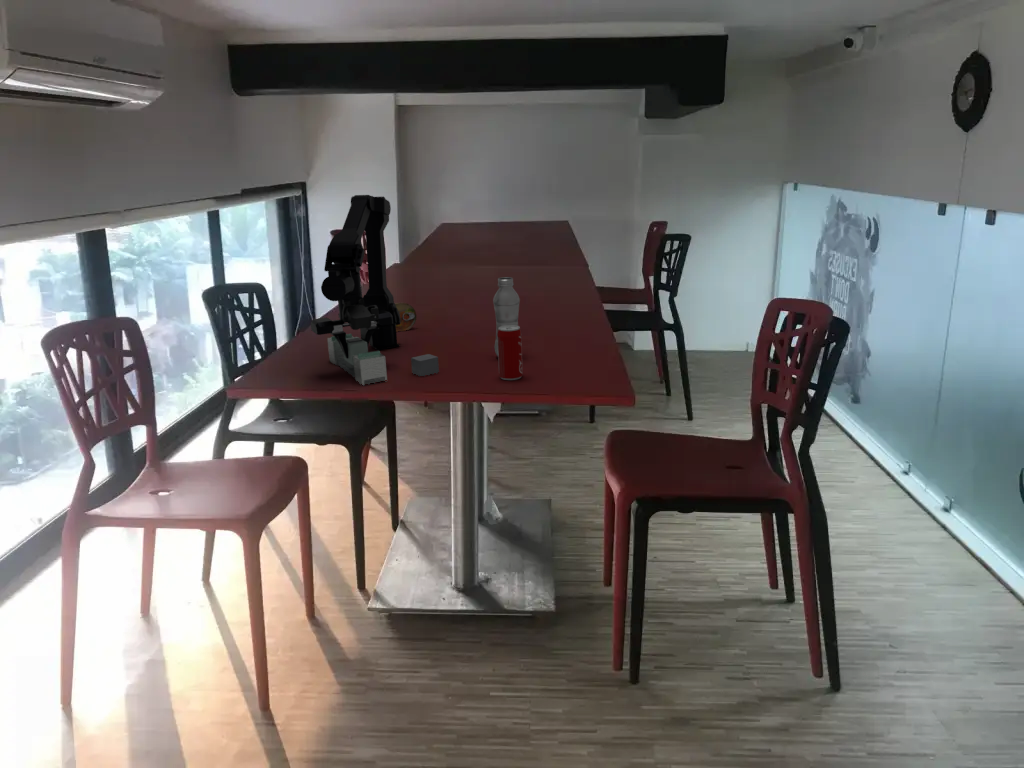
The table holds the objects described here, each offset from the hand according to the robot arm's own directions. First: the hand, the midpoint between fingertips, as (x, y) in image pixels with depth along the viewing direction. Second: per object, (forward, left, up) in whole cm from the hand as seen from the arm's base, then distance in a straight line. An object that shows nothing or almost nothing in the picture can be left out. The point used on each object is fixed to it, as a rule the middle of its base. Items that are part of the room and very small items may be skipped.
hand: (355, 356), depth 189 cm
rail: (0, 0, -4) cm, 4 cm away
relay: (-13, +12, -4) cm, 18 cm away
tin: (-22, -35, -4) cm, 41 cm away
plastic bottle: (-36, +11, -4) cm, 38 cm away
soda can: (-28, +27, -4) cm, 39 cm away
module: (0, 0, -1) cm, 1 cm away
